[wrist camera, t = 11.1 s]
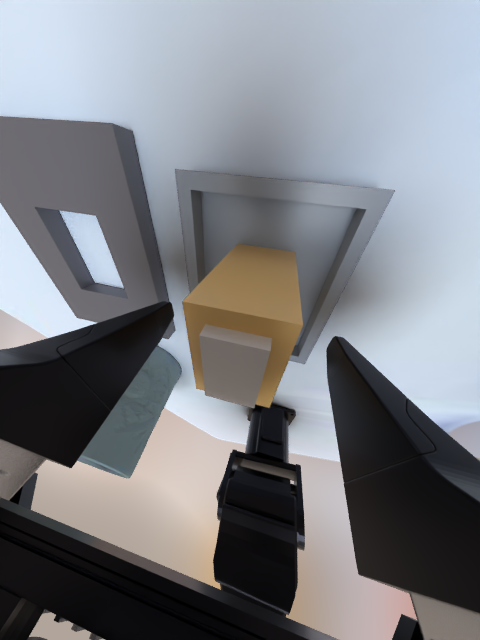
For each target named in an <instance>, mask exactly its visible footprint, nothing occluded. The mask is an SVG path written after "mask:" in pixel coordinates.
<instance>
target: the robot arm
mask: <svg viewBox="0 0 480 640" xmlns="http://www.w3.org/2000/svg"><path fill="white" fill-rule="evenodd" d="M173 317H174V312H173V307H172V304H171V303H170V302H167V301H162V302H159V303H156V304H153V305H150V306H147V307H144V308H141V309H138V310H135V311H132V312H129V313H126V314H123V315H120V316H117V317H114V318H111V319H108V320H105V321H102V322H99V323H96V324H93V325H90V326H87V327H84V328H81V329H78V330H75V331H72V332H68V333H65V334H61V335H58V336H54V337H51V338H47V339H44V340H41V341H37V342H33V343H30V344H26V345H23V346H19V347H15V348H10V349H2V350H0V640H47V639H44V638H41V637H29V635H30V633H31V632H32V630H33V628H34V627H35V625H36V623H37V622H38V620H39V618H40V616H41V615H42V614H43V613H49V612H52V613H54V614H56V617H55V619H54V621H56V622H63V621H70V622H72V623H74V624H73V626H72V628H71V629H72V630H74V631H76V632H77V631H80V630H84V629H86V630H87V631H90V632H91V634H90V639H91V640H99V639H102V638H103V639H105V640H338V639H336V638H334V637H331V636H329V635H327V634H324V633H322V632H319V631H317V630H314V629H312V628H310V627H308V626H305V625H303V624H300V623H298V622H296V621H293V620H291V619H288V618H286V614H288V615H289V613H290V611H291V608H292V604H293V601H294V598H295V592H296V589H297V583H298V581H297V580H298V578H297V548H298V549H301V550H304V547H305V532H304V510H303V494H302V481H301V466H300V465H297V464H296V465H293V464H289V463H288V426H289V425H290V423H291V422H292V420H293V419H294V417H295V416H296V412H295V411H293V410H289V409H285V408H282V407H278V406H274V405H270V408H268V407H264V406H260V405H256V404H255V408H251V407H250V411H249V415H248V420H249V421H250V427H249V433H248V439H247V445H246V451H245V453H243V452H239V451H237V450H233V451H232V453H230V458H229V461H228V465H227V468H226V471H225V474H224V477H223V480H222V482H221V485H220V487H219V490H218V492H217V500H218V511H217V516H218V520H220V525H219V532H218V538H217V544H216V549H215V554H214V559H213V563H214V577H215V581H216V582H218V583H220V586H221V590H220V589H217V588H215V587H213V586H210V585H208V584H205V583H203V582H201V581H198V580H196V579H193V578H191V577H189V576H186V575H184V574H182V573H179V572H177V571H175V570H172V569H170V568H167V567H165V566H163V565H160V564H158V563H156V562H153V561H151V560H148V559H146V558H144V557H141V556H139V555H137V554H134V553H132V552H129V551H127V550H124V549H122V548H119V547H117V546H115V545H113V544H110V543H108V542H106V541H103V540H101V539H99V538H96V537H94V536H91V535H89V534H87V533H84V532H82V531H79V530H77V529H75V528H72V527H70V526H68V525H65V524H63V523H61V522H58V521H56V520H53V519H51V518H49V517H46V516H44V515H41V514H39V513H37V512H34V511H32V510H31V505H32V500H33V495H34V490H35V485H36V480H37V475H38V474H37V473H34V472H35V471H36V470H37V469H38V468H39V467H40V466H41V465H42V463H43V462H44V461H45V460H46V459H47V460H50V461H52V462H55V463H58V464H61V465H63V466H66V467H69V468H72V467H73V465H74V464H75V463H76V461H77V460H78V459H79V457H80V456H81V454H82V453H83V451H84V450H85V449H86V447H87V446H88V444H89V443H90V441H91V440H92V439H93V437H94V436H95V434H96V433H97V431H98V430H99V428H100V427H101V426H102V424H103V423H104V421H105V420H106V418H107V417H108V416H109V414H110V413H111V411H112V410H113V408H114V407H115V405H116V404H117V402H118V401H119V400H120V398H121V397H122V395H123V394H124V392H125V391H126V389H127V388H128V387H129V385H130V384H131V382H132V381H133V379H134V378H135V376H136V375H137V374H138V372H139V371H140V369H141V368H142V366H143V365H144V364H145V362H146V361H147V359H148V358H149V356H150V355H151V353H152V352H153V351H154V349H155V348H156V346H157V345H158V343H159V342H160V340H161V339H162V337H163V336H164V334H165V332H166V330H167V328H168V326H169V325H170V323H171V321H172V319H173ZM327 378H328V385H329V391H330V398H331V404H332V410H333V417H334V423H335V429H336V436H337V442H338V449H339V455H340V461H341V467H342V474H343V480H344V487H345V494H346V500H347V507H348V513H349V519H350V525H351V532H352V538H353V544H354V551H355V558H356V563H357V569H358V574H359V575H361V576H364V577H366V578H369V579H372V580H375V581H377V582H380V583H382V584H385V585H388V586H391V587H393V588H396V589H399V590H402V591H404V592H407V593H409V594H410V597H411V600H412V603H413V607H414V610H415V614H416V617H417V620H416V619H413V618H410V617H408V616H405V615H403V614H401V617H400V620H399V622H398V625H397V628H396V630H395V633H394V636H393V638H392V640H480V461H479V460H478V459H477V458H475V457H474V456H473V455H472V454H470V453H469V452H468V451H467V450H466V449H465V448H463V447H462V446H461V445H460V444H459V443H458V442H457V441H455V440H454V439H453V438H452V437H450V436H449V435H448V434H447V433H446V432H445V431H444V430H443V429H441V428H440V427H439V426H438V425H437V424H436V423H434V422H433V421H432V420H431V419H430V418H429V417H428V416H427V415H426V414H424V413H423V412H422V411H421V410H420V409H419V408H418V407H417V406H416V405H415V404H414V403H413V402H412V401H410V400H409V399H408V398H407V397H406V396H405V395H404V394H403V393H402V392H401V391H400V390H399V389H398V388H397V387H395V386H394V385H393V384H392V383H391V382H390V381H389V380H388V379H387V378H386V377H385V376H384V375H383V374H382V373H381V372H379V371H378V370H377V369H376V368H375V367H374V366H373V365H372V364H371V363H370V362H369V361H368V360H367V359H366V358H365V357H363V356H362V355H361V354H360V353H359V352H358V351H357V350H356V349H355V348H354V347H353V346H352V345H351V344H350V343H349V342H347V341H346V340H345V339H344V338H342V337H337V336H335V337H333V339H332V340H331V342H330V344H329V345H328V347H327ZM290 480H292V481H294V484H290Z"/></svg>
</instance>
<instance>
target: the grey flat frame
mask: <svg viewBox="0 0 480 640" xmlns="http://www.w3.org/2000/svg"><path fill="white" fill-rule="evenodd" d="M0 203H1V204H2V206H3V207H4V209H5V210H6V212H7V213H8V215H9V216H10V218H11V219H12V221H13V222H14V224H15V225H16V227H17V228H18V230H19V231H20V233H21V234H22V236H23V237H24V239H25V240H26V242H27V243H28V245H29V246H30V248H31V249H32V251H33V252H34V254H35V255H36V257H37V258H38V260H39V261H40V263H41V264H42V266H43V267H44V269H45V270H46V272H47V273H48V275H49V277H50V278H51V280H52V281H53V283H54V284H55V286H56V287H57V289H58V290H59V292H60V293H61V295H62V296H63V298H64V299H65V301H66V302H67V304H68V305H69V307H70V308H71V310H72V311H73V313H74V314H75V316H76V317H77V318H80V319H84V320H89V321H93V322H97V323H99V322H102V321H105V320H108V319H111V318H114V317H117V316H120V315H123V314H126V313H129V312H132V311H135V310H138V309H141V308H144V307H147V306H150V305H153V304H156V303H159V302H162V301H167V302H169V299H168V295H167V290H166V286H165V281H164V276H163V272H162V267H161V262H160V258H159V253H158V248H157V244H156V239H155V235H154V230H153V225H152V221H151V216H150V211H149V207H148V202H147V197H146V193H145V188H144V184H143V179H142V174H141V170H140V165H139V160H138V156H137V151H136V146H135V142H134V137H133V132H132V131H131V130H128V129H126V128H123V127H120V126H118V125H115V124H112V123H101V122H84V121H68V120H52V119H36V118H19V117H3V116H0ZM58 210H61V211H68V212H75V213H82V214H89V215H96V217H97V219H98V222H99V224H100V227H101V230H102V232H103V235H104V237H105V240H106V242H107V245H108V248H109V250H110V253H111V255H112V258H113V260H114V263H115V266H116V268H117V271H118V273H119V276H120V278H121V281H122V284H123V286H124V289H121V288H117V287H112V286H107V285H102V284H97V283H94V281H93V279H92V277H91V275H90V273H89V271H88V269H87V267H86V265H85V263H84V261H83V259H82V257H81V255H80V253H79V251H78V249H77V247H76V245H75V243H74V241H73V239H72V237H71V235H70V233H69V231H68V229H67V227H66V225H65V223H64V221H63V219H62V217H61V215H60V213H59V211H58ZM174 331H175V327H174V323H173V319H172V321H171V323H170V325H169V326H168V328H167V330H166V332H165V334H164V336H163V337H162V338H165V339H169V338H170V336H171V335H172V334H173V333H174Z"/></svg>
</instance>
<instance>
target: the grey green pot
mask: <svg viewBox="0 0 480 640" xmlns="http://www.w3.org/2000/svg"><path fill="white" fill-rule="evenodd" d="M180 374H181V367H180V365H179V364H178V362H177V361H176V360H175V358H174V357H173V356H171V354H169V353H168V352H167V351H165V350H164V349H162V348H160V347H158V346H156V348H155V349H154V351H153V352H152V353H151V355H150V356H149V358H148V359H147V361H146V362H145V364H144V365H143V366H142V368H141V369H140V371H139V372H138V374H137V375H136V376H135V378H134V379H133V381H132V382H131V384H130V385H129V387H128V388H127V389H126V391H125V392H124V394H123V395H122V397H121V398H120V400H119V401H118V402H117V404H116V405H115V407H114V408H113V410H112V411H111V413H110V414H109V416H108V417H107V418H106V420H105V421H104V423H103V424H102V426H101V427H100V428H99V430H98V431H97V433H96V434H95V436H94V437H93V439H92V440H91V441H90V443H89V444H88V446H87V447H86V449H85V450H84V451H83V453H82V454H81V456H80V457H79V459H78V460H77V461H80V462H83V463H85V464H88V465H91V466H93V467H96V468H98V469H101V470H104V471H106V472H109V473H112V474H115V475H118V476H121V477H124V478H130V477H131V475H132V473H133V471H134V469H135V467H136V465H137V463H138V461H139V459H140V457H141V455H142V452H143V450H144V448H145V446H146V444H147V441H148V439H149V437H150V435H151V433H152V431H153V429H154V427H155V425H156V423H157V421H158V419H159V417H160V414H161V411H162V410H163V409H164V406H165V404H166V402H167V400H168V398H169V396H170V394H171V392H172V390H173V388H174V386H175V384H176V383H177V381H178V379H179V377H180Z"/></svg>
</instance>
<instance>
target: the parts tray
mask: <svg viewBox="0 0 480 640" xmlns="http://www.w3.org/2000/svg"><path fill="white" fill-rule="evenodd" d="M175 174H176V182H177V191H178V199H179V207H180V216H181V224H182V232H183V241H184V249H185V257H186V266H187V274H188V282H189V291H190V293H191V292H192V291H193V290H194V289H195V288H196V287H197V286H198V285H199V283H200V282H201V281H202V280H203V279H204V278H205V277H206V276H207V275H208V274H209V273H210V272H211V271H212V270H213V269H214V268H215V267H216V266H217V265H218V264H219V263H220V262H221V261H222V260H223V258H224V257H225V256H226V255H227V254H228V253H229V252H230V251H231V250H232V249H233V248H234V247H235V246H236V245H237V244H244V245H251V246H258V247H265V248H271V249H278V250H285V251H292V252H295V255H296V264H297V273H298V283H299V292H300V301H301V311H302V320H303V327H302V329H301V332H300V334H299V336H298V339H297V341H296V344H295V346H294V349H293V351H292V354H291V356H290V359H289V361H293V362H297V363H301V364H305V363H306V361H307V359H308V357H309V355H310V353H311V351H312V349H313V347H314V345H315V343H316V342H317V340H318V338H319V336H320V334H321V332H322V330H323V328H324V326H325V324H326V322H327V320H328V318H329V317H330V315H331V313H332V311H333V309H334V307H335V305H336V303H337V301H338V299H339V297H340V295H341V294H342V292H343V290H344V288H345V286H346V284H347V282H348V280H349V278H350V276H351V274H352V272H353V270H354V269H355V267H356V265H357V263H358V261H359V259H360V257H361V255H362V253H363V251H364V249H365V247H366V246H367V244H368V242H369V240H370V238H371V236H372V234H373V232H374V230H375V228H376V226H377V224H378V223H379V221H380V219H381V217H382V215H383V213H384V211H385V209H386V207H387V205H388V203H389V201H390V199H391V198H392V196H393V194H394V192H395V190H387V189H377V188H367V187H356V186H346V185H335V184H325V183H314V182H304V181H293V180H283V179H273V178H262V177H252V176H241V175H231V174H220V173H210V172H199V171H189V170H179V169H175Z"/></svg>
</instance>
